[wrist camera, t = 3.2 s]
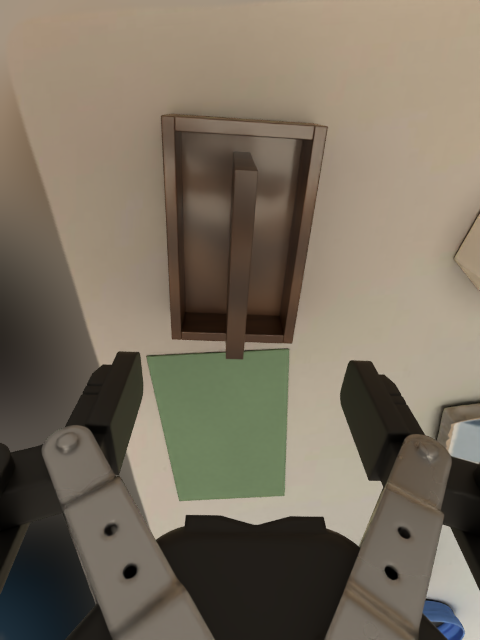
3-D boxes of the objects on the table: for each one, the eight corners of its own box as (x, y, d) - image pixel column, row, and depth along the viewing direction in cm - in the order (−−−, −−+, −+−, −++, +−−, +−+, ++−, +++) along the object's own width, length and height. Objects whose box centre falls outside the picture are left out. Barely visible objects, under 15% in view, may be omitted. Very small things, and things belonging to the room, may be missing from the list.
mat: (146, 355, 35) (146, 356, 35) (288, 348, 35) (289, 349, 35) (179, 499, 47) (179, 501, 47) (284, 494, 47) (284, 495, 47)
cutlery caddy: (170, 113, 24) (142, 117, 17) (314, 123, 25) (352, 131, 17) (177, 315, 32) (161, 380, 25) (285, 319, 33) (302, 384, 25)
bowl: (351, 636, 73) (357, 659, 70) (373, 597, 64) (380, 621, 61) (436, 635, 74) (445, 658, 71) (469, 597, 65) (481, 621, 62)
